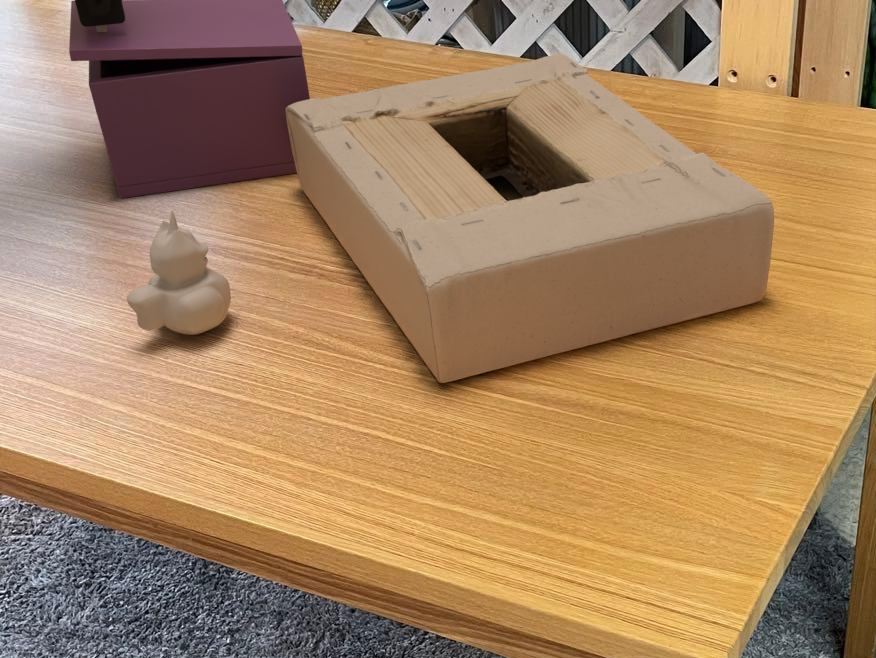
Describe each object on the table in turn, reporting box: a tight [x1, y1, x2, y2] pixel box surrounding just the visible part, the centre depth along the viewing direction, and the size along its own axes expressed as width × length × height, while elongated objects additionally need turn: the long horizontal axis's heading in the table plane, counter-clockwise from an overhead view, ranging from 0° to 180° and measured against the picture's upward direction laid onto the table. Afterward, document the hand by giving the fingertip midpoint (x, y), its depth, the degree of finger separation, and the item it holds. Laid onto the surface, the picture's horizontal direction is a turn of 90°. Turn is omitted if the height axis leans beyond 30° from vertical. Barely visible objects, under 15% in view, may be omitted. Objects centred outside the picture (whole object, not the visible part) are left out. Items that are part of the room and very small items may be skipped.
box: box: [285, 53, 775, 384], centre depth 82 cm, size 23×8×32 cm
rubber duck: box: [126, 209, 232, 336], centre depth 73 cm, size 5×7×8 cm
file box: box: [88, 54, 311, 199], centre depth 95 cm, size 16×13×9 cm
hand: (102, 10), depth 89 cm, fingers closed on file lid, 5 cm apart
